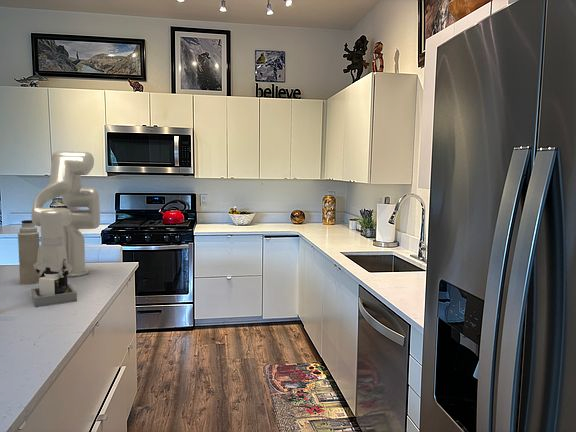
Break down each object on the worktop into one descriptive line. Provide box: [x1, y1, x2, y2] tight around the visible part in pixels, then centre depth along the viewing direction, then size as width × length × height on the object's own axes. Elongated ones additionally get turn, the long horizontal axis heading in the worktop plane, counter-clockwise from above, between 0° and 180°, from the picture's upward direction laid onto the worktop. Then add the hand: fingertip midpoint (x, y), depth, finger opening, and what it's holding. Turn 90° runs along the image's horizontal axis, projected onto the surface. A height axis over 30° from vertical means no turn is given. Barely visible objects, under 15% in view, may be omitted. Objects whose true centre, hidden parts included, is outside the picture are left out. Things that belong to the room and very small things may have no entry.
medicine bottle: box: [38, 267, 69, 296], centre depth 164 cm, size 7×7×12 cm
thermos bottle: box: [17, 219, 40, 285], centre depth 187 cm, size 8×8×28 cm
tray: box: [30, 283, 78, 308], centre depth 165 cm, size 14×14×4 cm
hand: (53, 285), depth 165 cm, fingers closed on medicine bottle, 7 cm apart
